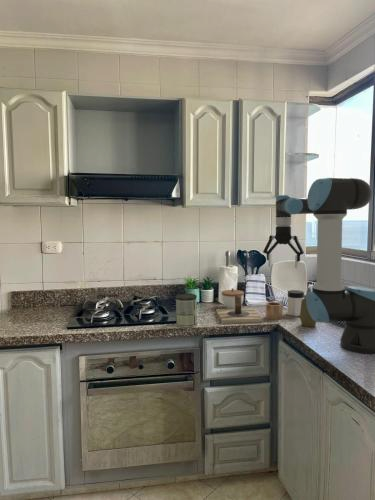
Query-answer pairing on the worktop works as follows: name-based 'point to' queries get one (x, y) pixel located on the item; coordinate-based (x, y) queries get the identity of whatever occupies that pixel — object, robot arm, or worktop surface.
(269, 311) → the copper sleeve
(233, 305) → the lidded bowl
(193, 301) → the coffee can
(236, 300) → the post stand
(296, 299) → the jar
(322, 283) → the robot arm
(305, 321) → the squeeze bottle
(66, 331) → the worktop surface
